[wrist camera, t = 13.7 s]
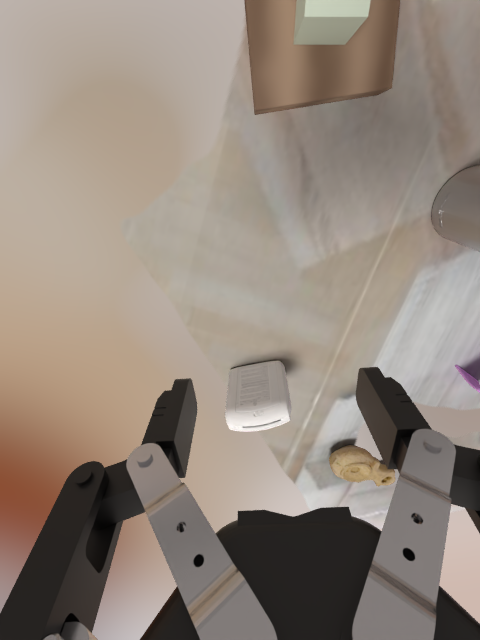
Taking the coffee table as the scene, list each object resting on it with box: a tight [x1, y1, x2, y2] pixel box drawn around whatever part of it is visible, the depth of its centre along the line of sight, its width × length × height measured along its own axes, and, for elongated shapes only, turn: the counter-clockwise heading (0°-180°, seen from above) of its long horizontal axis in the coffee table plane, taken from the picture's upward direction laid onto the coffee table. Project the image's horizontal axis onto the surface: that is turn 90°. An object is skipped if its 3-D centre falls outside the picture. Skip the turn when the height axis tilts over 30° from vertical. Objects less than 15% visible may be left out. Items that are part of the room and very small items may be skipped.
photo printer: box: [225, 361, 291, 432], centre depth 47 cm, size 10×4×12 cm, turn 104°
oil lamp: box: [329, 445, 395, 486], centre depth 61 cm, size 11×14×5 cm
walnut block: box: [244, 0, 400, 115], centre depth 29 cm, size 14×14×4 cm
